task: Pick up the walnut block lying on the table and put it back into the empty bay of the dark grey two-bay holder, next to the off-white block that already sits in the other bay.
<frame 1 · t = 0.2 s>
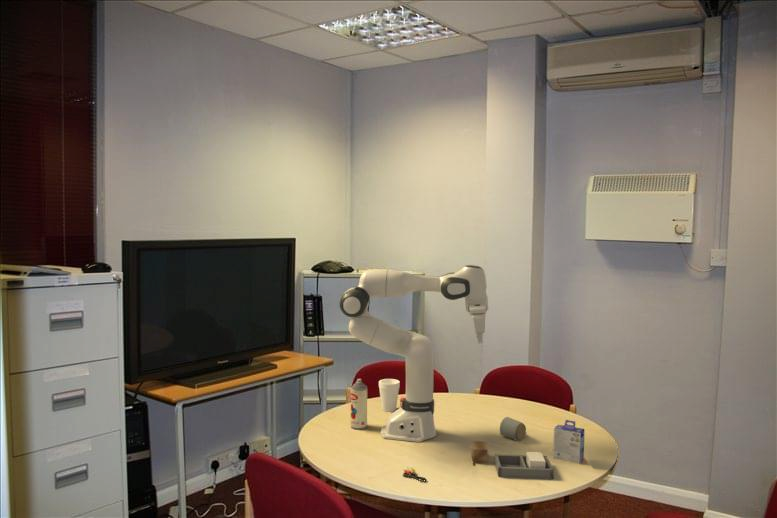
hand: (479, 340, 239), 39 cm above the table, tool pointing down, fingers open, 8 cm apart
off-white block: (535, 470, 206), point 1 cm above the table, touching holder
foam cup: (388, 410, 274), on the table
ceramic mug: (514, 437, 241), on the table
ink cartridge box: (568, 462, 217), on the table
walnut block: (479, 461, 216), on the table
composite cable: (413, 479, 202), on the table
aerosol can: (358, 427, 251), on the table
holder: (522, 473, 206), on the table
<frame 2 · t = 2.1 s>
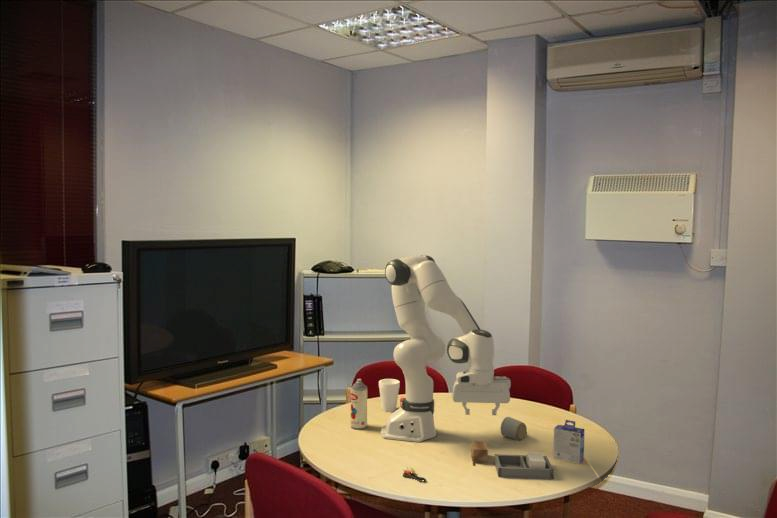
hand: (480, 414, 215), 17 cm above the table, tool pointing down, fingers open, 8 cm apart
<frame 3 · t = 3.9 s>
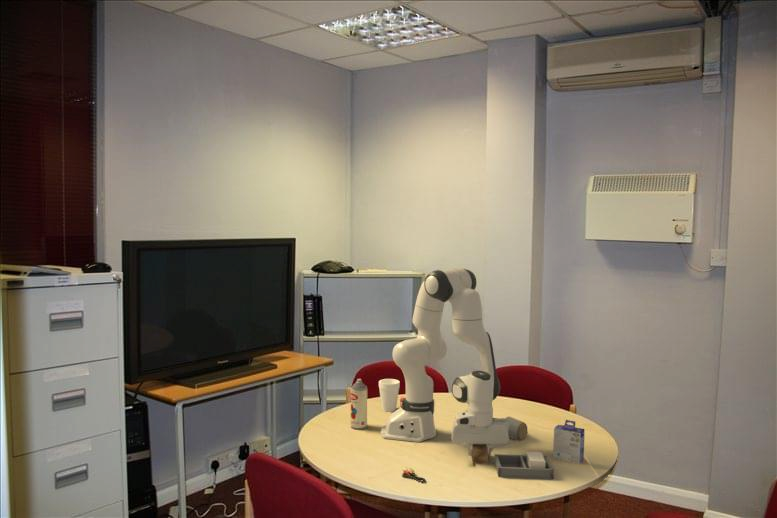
hand: (479, 455, 216), 2 cm above the table, tool pointing down, fingers closed on walnut block, 5 cm apart
walnut block: (479, 461, 216), on the table, touching gripper
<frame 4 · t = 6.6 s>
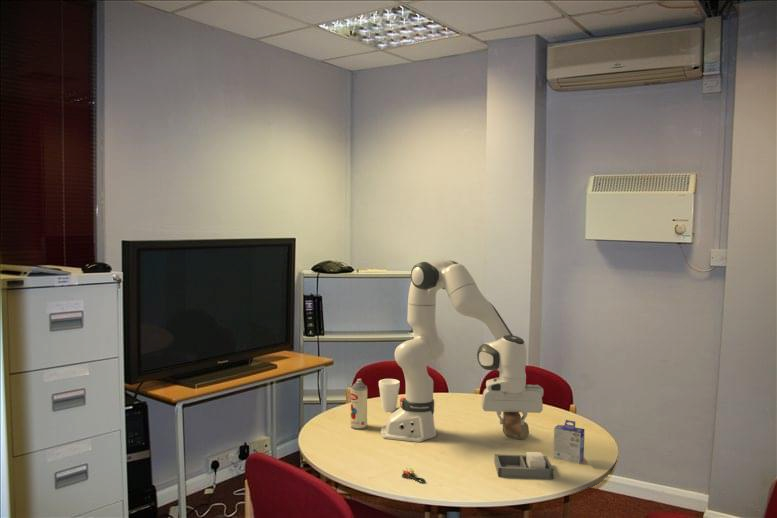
hand: (511, 424, 205), 17 cm above the table, tool pointing down, fingers closed on walnut block, 5 cm apart
walnut block: (511, 430, 205), point 15 cm above the table, touching gripper
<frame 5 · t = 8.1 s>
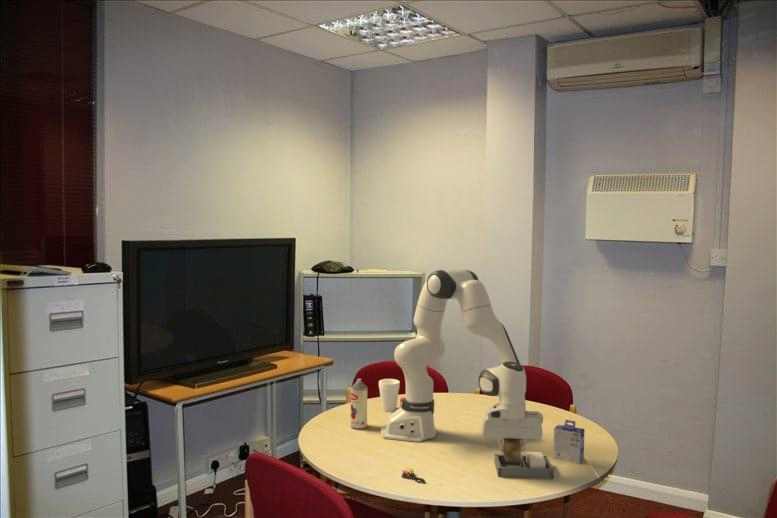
hand: (511, 450, 206), 8 cm above the table, tool pointing down, fingers closed on walnut block, 5 cm apart
walnut block: (511, 456, 206), point 6 cm above the table, touching gripper
when the fingers open (5 cm above the table, at t = 9.1 s): walnut block drops 2 cm, resting on holder.
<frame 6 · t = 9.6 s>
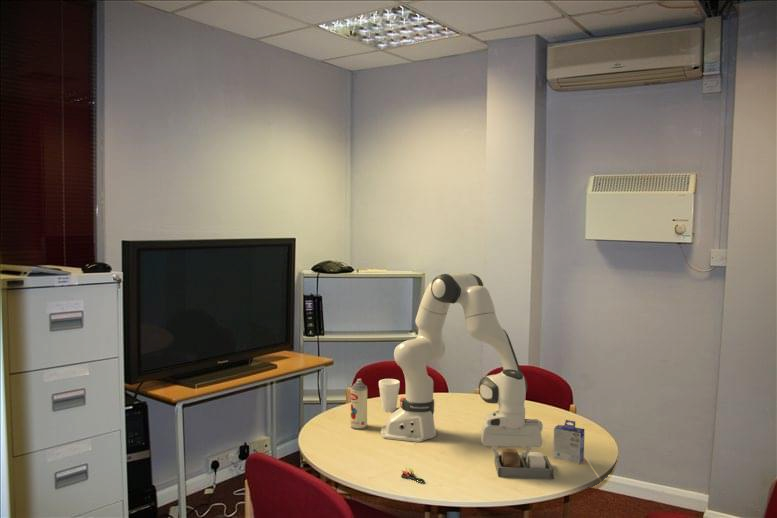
hand: (510, 458, 206), 5 cm above the table, tool pointing down, fingers open, 8 cm apart
walnut block: (510, 469, 206), point 1 cm above the table, touching holder
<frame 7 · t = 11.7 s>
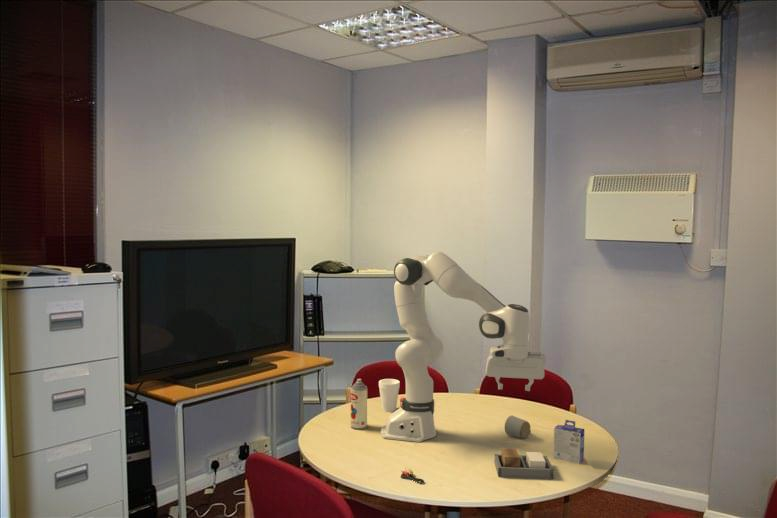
hand: (513, 389, 213), 27 cm above the table, tool pointing down, fingers open, 8 cm apart
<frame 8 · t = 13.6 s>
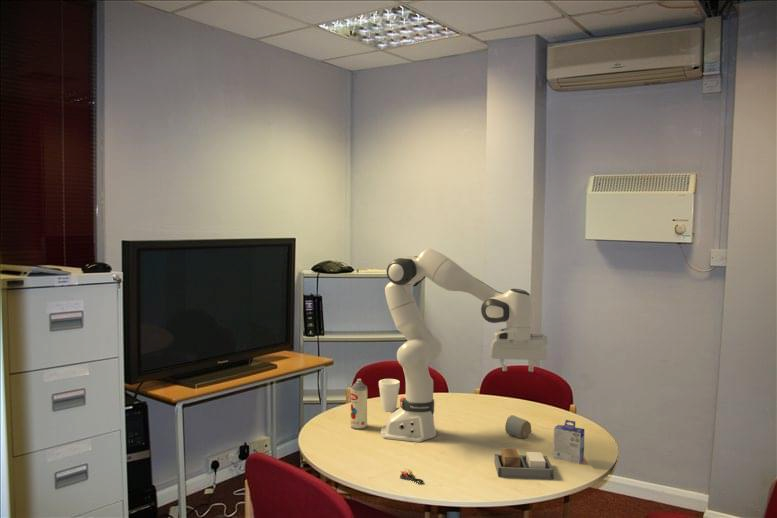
hand: (517, 371, 221), 31 cm above the table, tool pointing down, fingers open, 8 cm apart
at the end: walnut block inside the target area on the holder (0.0 cm from its centre), point 1.0 cm above the holder's base; walnut block tilted 0°; the gripper is holding nothing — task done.
